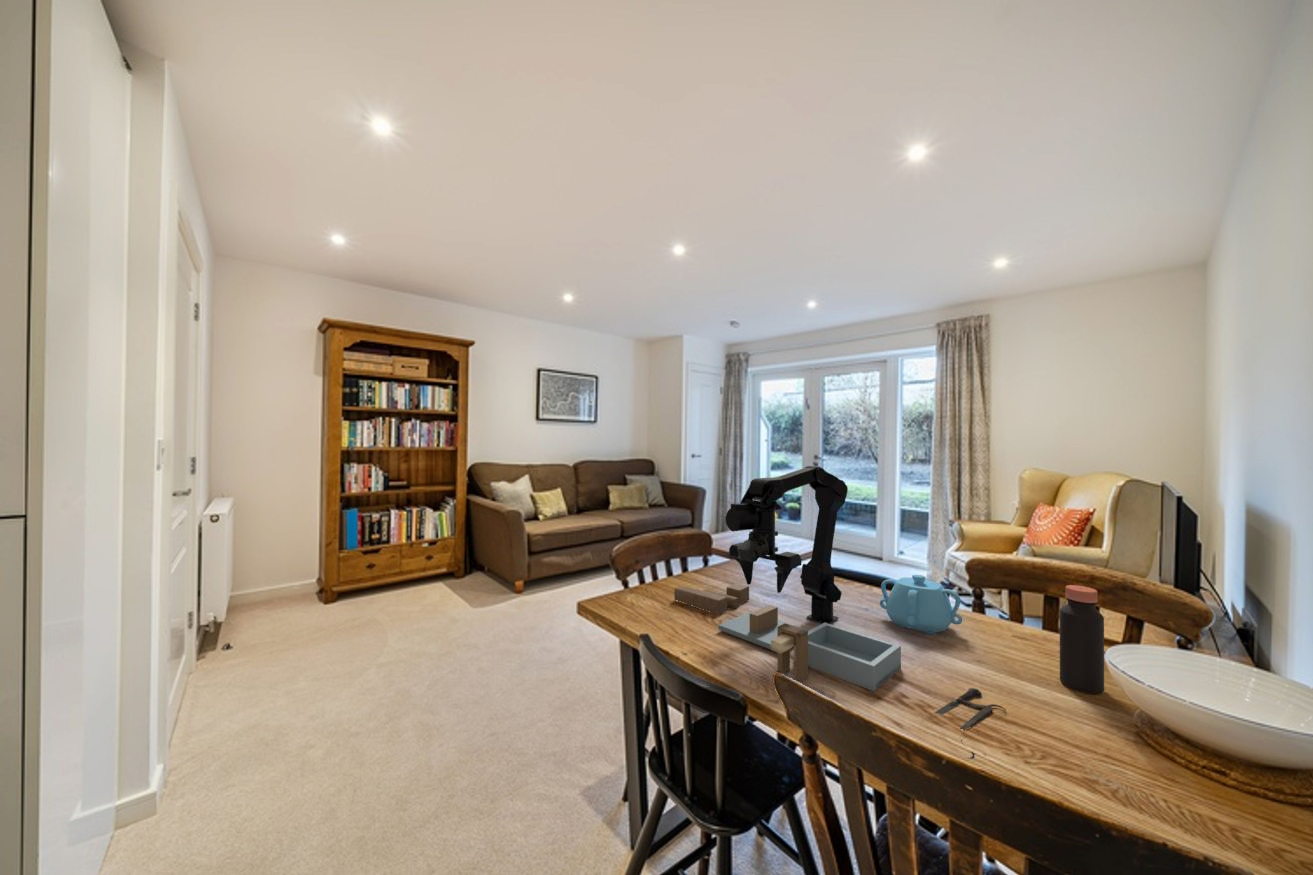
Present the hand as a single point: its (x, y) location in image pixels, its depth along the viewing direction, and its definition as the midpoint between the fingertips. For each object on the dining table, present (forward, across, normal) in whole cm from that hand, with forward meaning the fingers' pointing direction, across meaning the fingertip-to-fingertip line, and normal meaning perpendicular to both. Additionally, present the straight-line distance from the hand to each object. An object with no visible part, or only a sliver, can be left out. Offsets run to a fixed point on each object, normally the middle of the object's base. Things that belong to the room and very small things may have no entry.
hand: (763, 588), depth 123 cm
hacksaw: (+13, +47, -5) cm, 49 cm away
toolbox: (+12, +22, -3) cm, 25 cm away
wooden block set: (+13, -26, +10) cm, 30 cm away
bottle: (+12, +59, +26) cm, 66 cm away
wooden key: (+5, +16, -14) cm, 22 cm away
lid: (+11, 0, 0) cm, 11 cm away
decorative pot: (+12, +25, +36) cm, 45 cm away
